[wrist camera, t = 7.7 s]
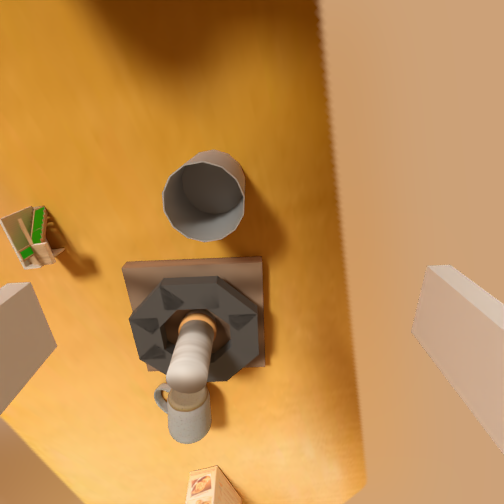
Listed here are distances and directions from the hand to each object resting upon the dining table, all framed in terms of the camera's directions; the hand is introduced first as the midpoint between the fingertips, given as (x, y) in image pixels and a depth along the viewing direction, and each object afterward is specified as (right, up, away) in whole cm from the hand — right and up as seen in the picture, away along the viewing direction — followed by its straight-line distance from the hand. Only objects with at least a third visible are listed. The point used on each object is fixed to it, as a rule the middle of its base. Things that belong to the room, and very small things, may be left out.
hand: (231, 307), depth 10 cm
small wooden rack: (-28, +5, +32) cm, 43 cm away
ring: (-7, -10, +34) cm, 36 cm away
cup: (-4, +11, +29) cm, 31 cm away
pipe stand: (-7, -8, +38) cm, 39 cm away
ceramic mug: (-12, -24, +45) cm, 53 cm away
